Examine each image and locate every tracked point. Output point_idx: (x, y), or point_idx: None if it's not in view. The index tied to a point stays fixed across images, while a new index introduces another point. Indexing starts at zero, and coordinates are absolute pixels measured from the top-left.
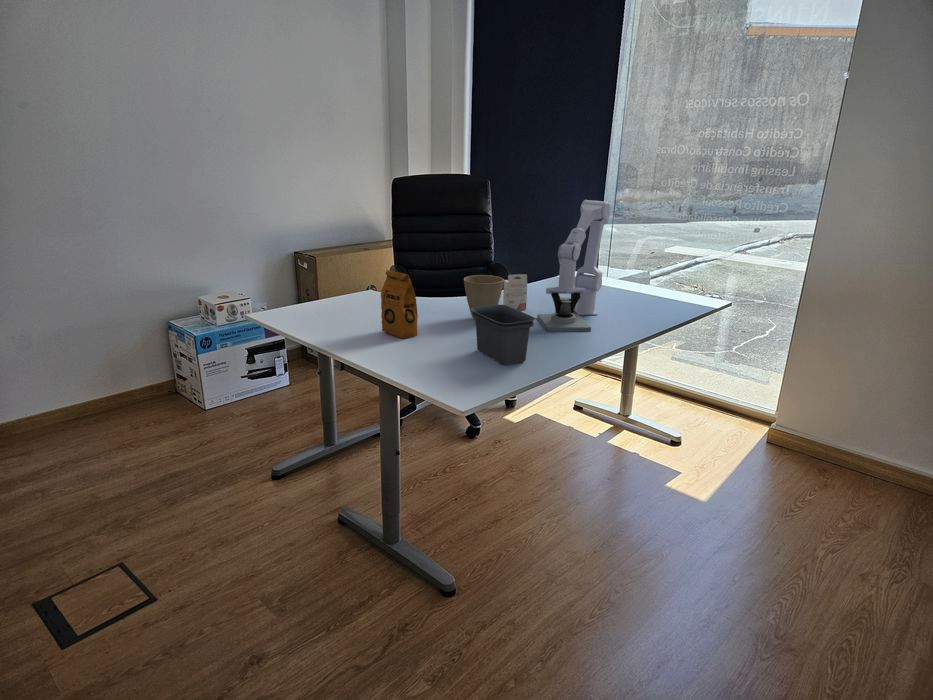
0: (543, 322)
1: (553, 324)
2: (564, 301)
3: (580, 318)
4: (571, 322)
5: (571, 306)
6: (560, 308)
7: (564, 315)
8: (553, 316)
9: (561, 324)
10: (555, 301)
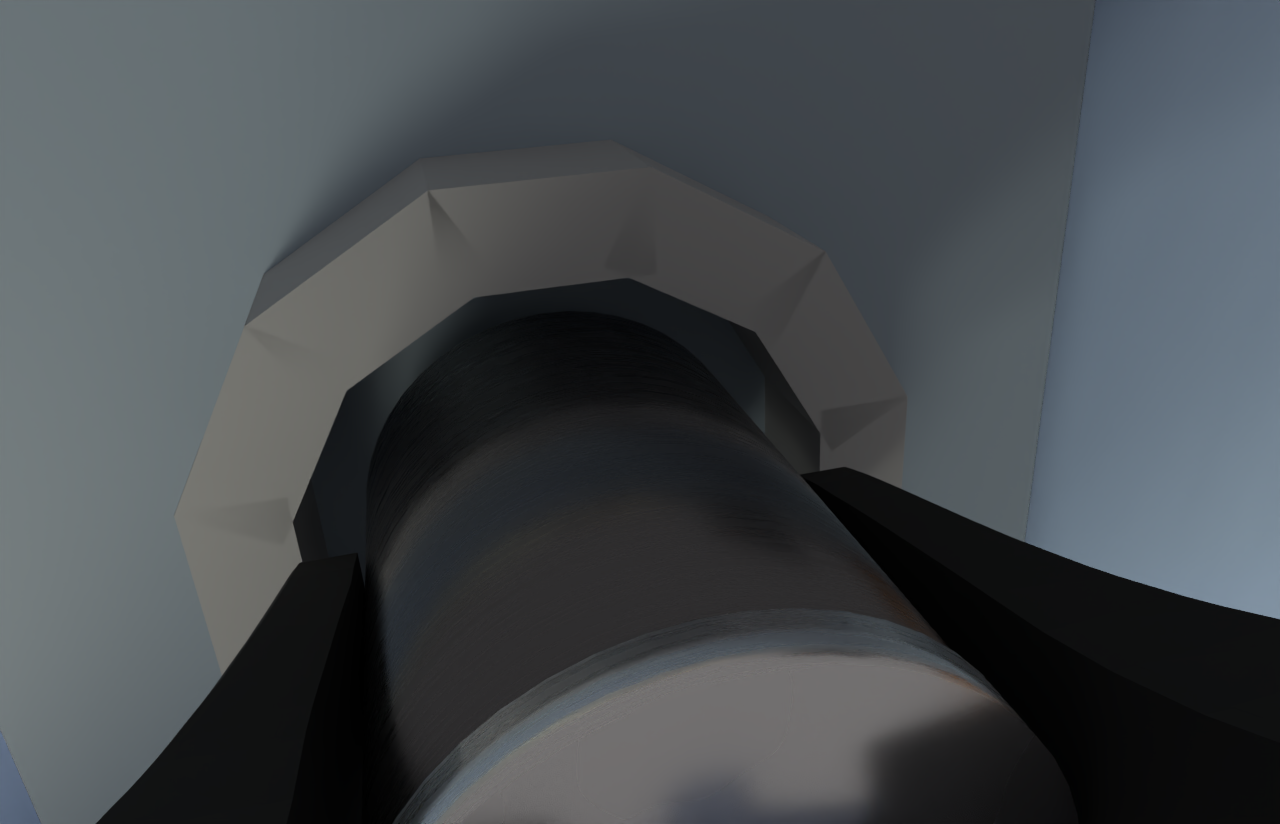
0: (1045, 279)
1: (894, 49)
2: (872, 650)
3: (57, 706)
4: (358, 209)
5: (377, 680)
6: (831, 512)
7: (612, 354)
8: (897, 380)
9: (675, 61)
10: (1267, 621)
